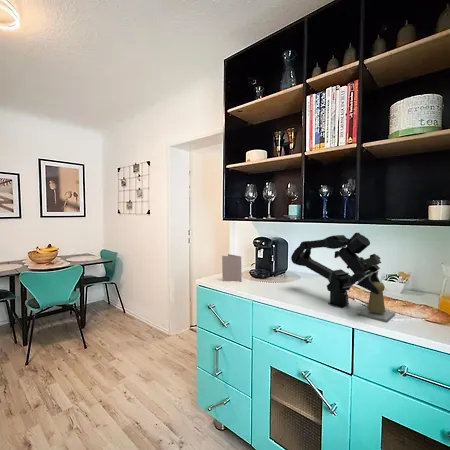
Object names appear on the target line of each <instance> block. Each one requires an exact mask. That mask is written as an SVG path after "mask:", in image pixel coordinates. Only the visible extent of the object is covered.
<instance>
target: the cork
mask: <svg viewBox="0 0 450 450" xmlns="http://www.w3.org/2000/svg"><path fill="white" fill-rule="evenodd" d="M372 283H373V284H374V286H375V287H376V288H377V290H378V291H379V294H375V293H373V292H371V291H370V292H369V299H368V303H367V306H368V310H369V311H372V312H375V313H384V312H385V310H386V307H385V299H384V291H385V288H386V287H385V285H384V283H382V282H381V281H380V282H372Z"/></svg>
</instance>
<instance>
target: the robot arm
mask: <svg viewBox="0 0 450 450" xmlns="http://www.w3.org/2000/svg"><path fill="white" fill-rule="evenodd" d="M370 245H371V242H370V239H369V238H367V236H365V235H363V234H361V233H360V232H355V233H354V234H353V235H352V236H351V237H350V238H347V237H346V236H345V234H335V235H334V234H333V235H330V236H327V237H325V238H322V239H316V240H305V241H301V242H300V244H299V246H298V247H296V248H295V249H294V251H293V252H292V254H291V257H290V260H291V262H292V263H293V264H294V265H296V266H302V267H305V268H308V269H309V270H311V271H313V272H314V273H317V274H318V275H319V276H321V277H324V279H326V280H327V281H328V284H327V285H326V289H327V291H328V292H329V302H327V303H328V305H330V306H335V307H339V308H341V309H342V308H346V306H348V305H349V294H348V291H351V290H350V289H351V288H352V286H353V285H355V284H356V286H360V287H361V288H363V289H365V290H367V291H370V292H373V293H375V294H379V291H378V290H377V288H376V287H375V286H374V284H373V283H372V282H380V283H381V281H380V279H379V277H378V275H379V272H380V271H379V270H380V269H381V268H380V266H378V265H380V264H382V261H381V256H379V255H377V254H376V253H372V254H370V255H369V257H368V258H364V257H361V256H359V255H358V254H361V253H362V252H363V251H365V250H366V249H367V248H368V247H369V246H370ZM319 248H326V249H331V250H335V251H334V256H333V257H334V259H337V258H340V259H341V260H342V262H343V263H344V264H345V265H346V269H349V270H351V272H352V273H353V274H352V275H350V274H349V272H347V271H345V270H343V269H341V268H340V269H334V270H333V269H331V268H329V267H327V266H325V265H324V264H322V263H320V262H318V261H316V260H314V259H312V257H311V254H312V249H319ZM336 249H339V250H336Z"/></svg>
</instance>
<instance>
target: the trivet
mask: <svg viewBox="0 0 450 450" xmlns="http://www.w3.org/2000/svg"><path fill="white" fill-rule="evenodd" d="M357 315H358V316H360V317H363V318H364V317H365V318H368V319H372V320H376V321H380V322H383V323H388V322H389V321H390V320H391V319H393V317H395V316H396V312H395V311H391V310H386V309H385V312H384V313H375V312H372V311H369V310H368V305H367V306H366V307H364V308H362V309H361V310H360V311H358V314H357Z"/></svg>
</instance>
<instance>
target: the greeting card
mask: <svg viewBox="0 0 450 450" xmlns="http://www.w3.org/2000/svg"><path fill="white" fill-rule="evenodd" d="M221 256H222V257H221V260H222V261H221V265H222V266H221V267H222V271H221V272H222V276H221V277H222V282H231V281H239V282H238V283H242V277H243V276H242V256H240V255H235V254H230V253H228V254H227V255H221Z"/></svg>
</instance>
